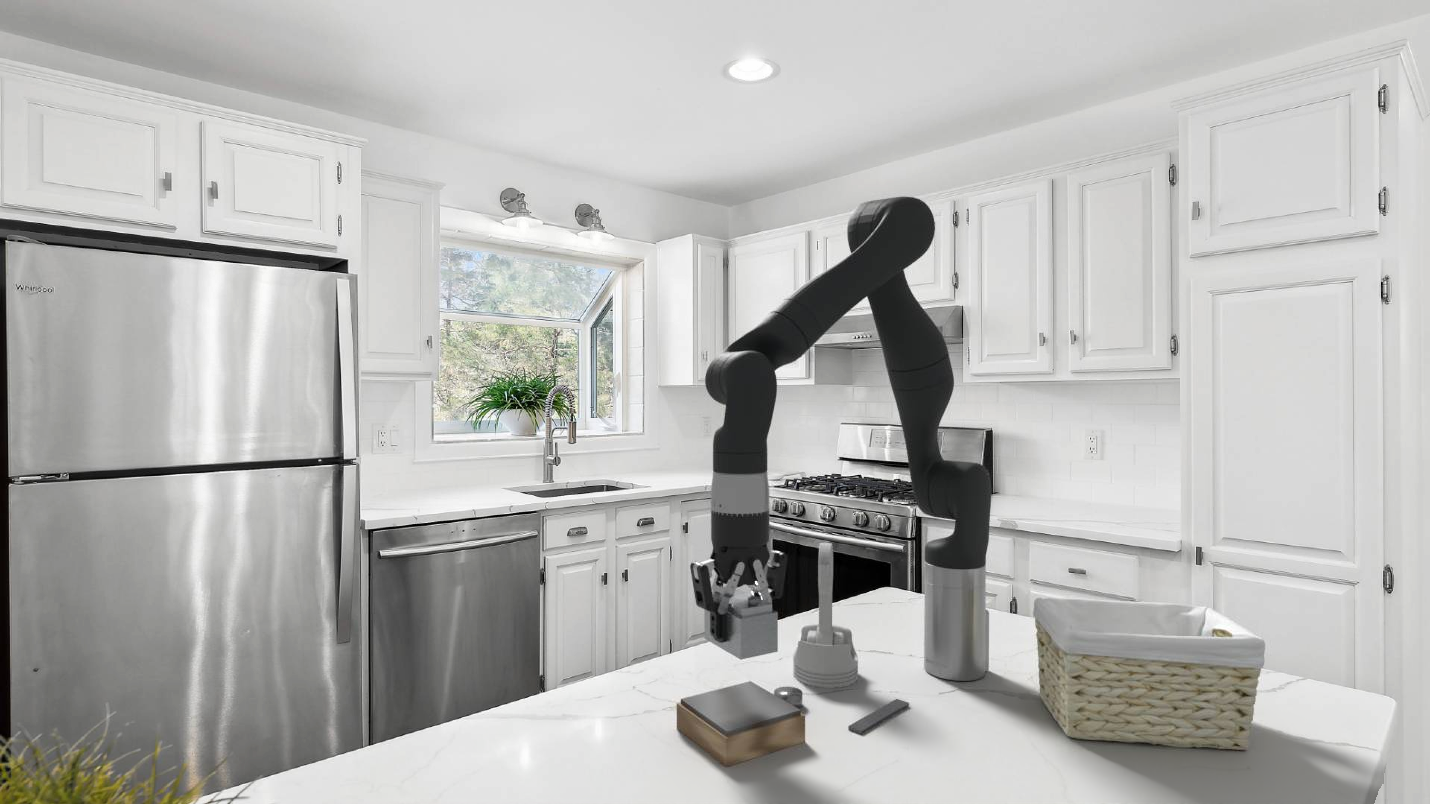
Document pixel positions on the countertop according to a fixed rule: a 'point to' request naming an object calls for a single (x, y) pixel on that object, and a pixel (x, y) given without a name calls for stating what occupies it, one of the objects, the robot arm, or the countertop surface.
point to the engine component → (825, 638)
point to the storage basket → (1147, 672)
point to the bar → (878, 716)
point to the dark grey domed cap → (790, 695)
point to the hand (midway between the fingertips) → (740, 636)
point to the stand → (740, 722)
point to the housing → (747, 627)
